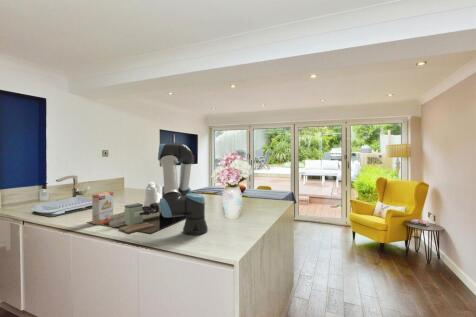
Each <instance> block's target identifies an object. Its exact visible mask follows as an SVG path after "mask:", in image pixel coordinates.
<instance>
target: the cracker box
mask: <svg viewBox="0 0 476 317" xmlns="http://www.w3.org/2000/svg"><path fill="white" fill-rule="evenodd" d="M91 196H92V197H91V198H92V200H91V201H92V203H91V204H92V206H91V208H92V209H91V210H92V213H91V214H92V219H91V220H92V222H91V223H92V225H97V226H98V225H99V226H100V225H102V224H105V223H108V222H110V221H113V220H114V192H113V191H104V192H100V193H93V194H91Z"/></svg>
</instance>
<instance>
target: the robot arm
mask: <svg viewBox="0 0 476 317" xmlns="http://www.w3.org/2000/svg"><path fill="white" fill-rule="evenodd" d="M158 146H159V147H158V155H157V160H158V162H159V161H160V164H161V165H162V172H163V174H162V176H163V186H161V187H162V198H161V199H160V202H158V203H153V204H150V206H147V207H146V206H144V205H143V211H141V212H136V213H134V217H137V216H142V215H143V216H149V215H152V214H157V213H158V214H160V213H161V215H162V217H163V218H176V217H185V220H184V221H185V222H184V226H183V228H182V229H183V230H182V233H183V234H185V235H187V236H199V235H203V234H204V235H205V234H206V233H207V232H208V231H209V230H208V225H207V222H206V218H205V217H206V216H205V212H206V210H205V208H206V207H205V205H206V200H205V196H204V195H203V194H196V193H192V190H191V187H190V178H191V171H192V170H191V169H192V164H193V162H194V155H193V152H192V150H191V149H190V148H189V147H188V145H186V144H183V143H160V144H159V145H158ZM178 161H179V163H180V171H179V183H178V171H177V164H178ZM124 215H125V209H124Z"/></svg>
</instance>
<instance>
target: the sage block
mask: <svg viewBox="0 0 476 317" xmlns="http://www.w3.org/2000/svg"><path fill="white" fill-rule="evenodd" d="M143 207H144V203H139V202H136V203H130V204H126V205H124V210H125V214H124V224H125V226H129V225H133V224H137V223H141V222H144V215H142V216H137V217H134V213H136V212H141V211H143Z"/></svg>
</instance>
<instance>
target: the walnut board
mask: <svg viewBox="0 0 476 317" xmlns="http://www.w3.org/2000/svg"><path fill="white" fill-rule="evenodd" d="M152 228H156V225H155V224H154V223H150V222H146V221H143V222H141V223H137V224H133V225H125V226H121V227H119V228H118V231H120V232H123V233H126V234H128V235H130V234H134V233H137V232H142V231H145V230H148V229H152Z"/></svg>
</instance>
